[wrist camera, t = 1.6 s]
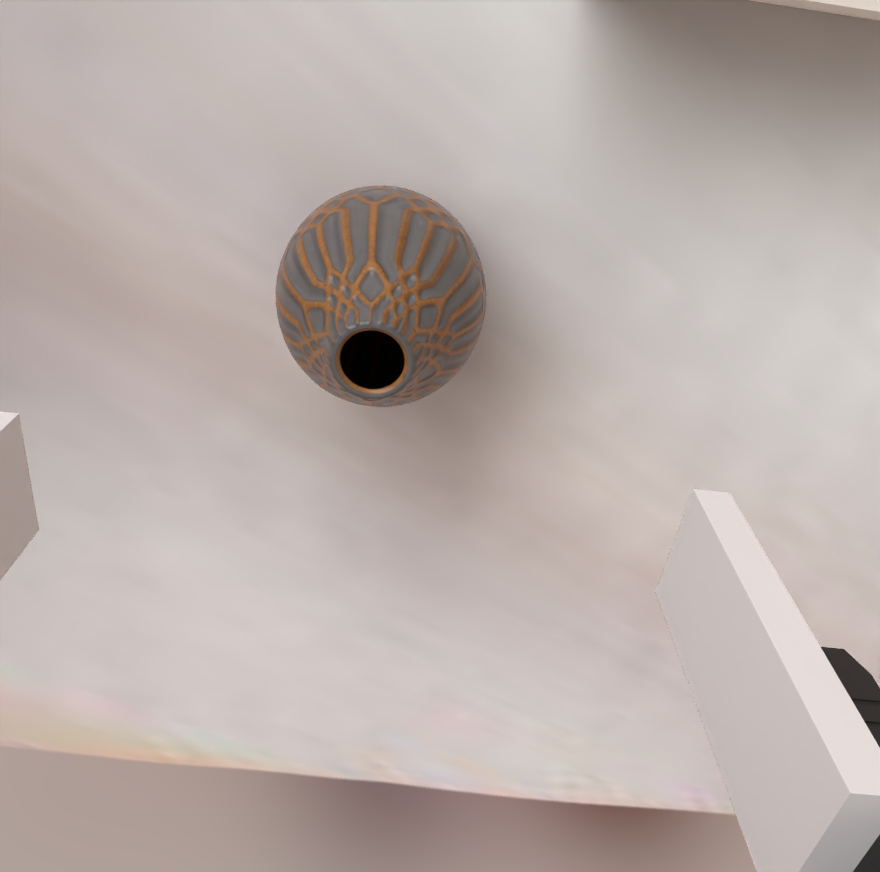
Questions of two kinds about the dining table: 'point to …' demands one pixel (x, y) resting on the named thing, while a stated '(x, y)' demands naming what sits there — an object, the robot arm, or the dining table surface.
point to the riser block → (835, 6)
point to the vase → (380, 296)
